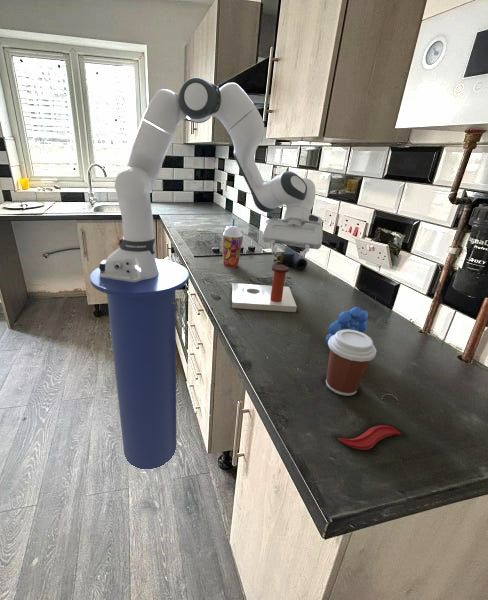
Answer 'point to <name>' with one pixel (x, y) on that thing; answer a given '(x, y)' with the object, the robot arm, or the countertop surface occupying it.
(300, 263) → the pipe connector
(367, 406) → the countertop surface
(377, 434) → the cayenne pepper
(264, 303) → the sink floor
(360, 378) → the coffee cup
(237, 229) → the smoothie
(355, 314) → the grapes
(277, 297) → the stopper
